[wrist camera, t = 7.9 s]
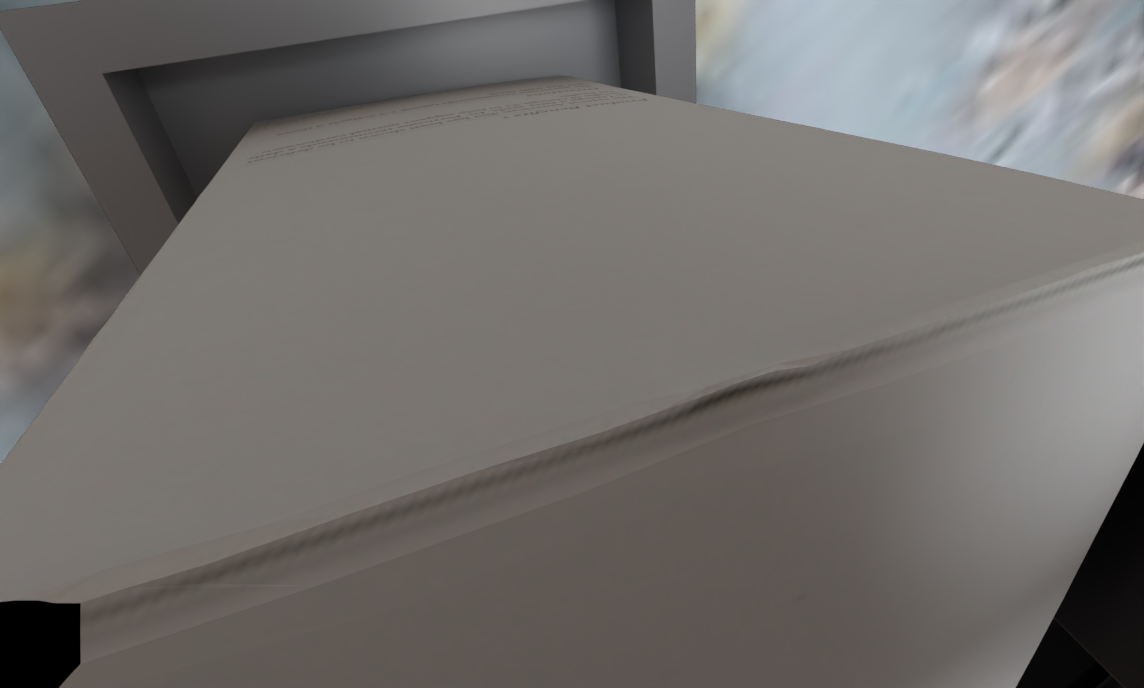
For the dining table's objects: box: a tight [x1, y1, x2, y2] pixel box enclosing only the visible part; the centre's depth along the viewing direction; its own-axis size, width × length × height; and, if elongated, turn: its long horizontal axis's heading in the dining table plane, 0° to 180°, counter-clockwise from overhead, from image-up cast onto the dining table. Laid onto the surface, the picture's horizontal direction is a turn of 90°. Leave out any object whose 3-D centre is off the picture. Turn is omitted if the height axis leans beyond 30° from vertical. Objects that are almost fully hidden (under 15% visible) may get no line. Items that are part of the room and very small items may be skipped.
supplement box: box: [0, 75, 1144, 688], centre depth 10 cm, size 7×7×13 cm
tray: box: [0, 0, 696, 276], centre depth 14 cm, size 12×12×2 cm
